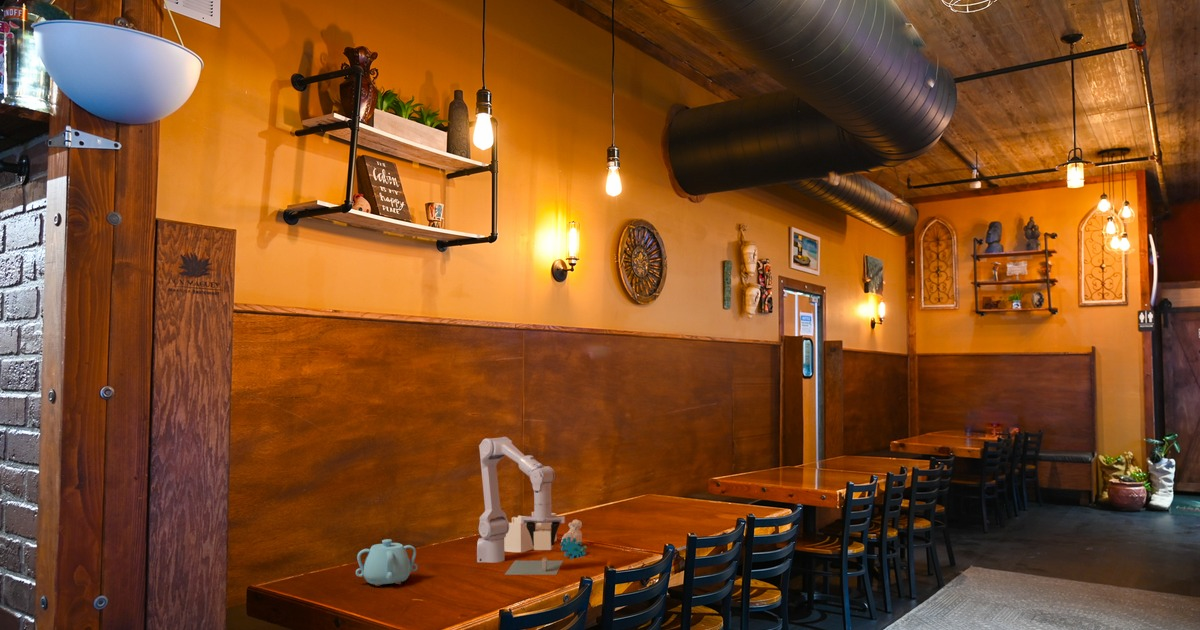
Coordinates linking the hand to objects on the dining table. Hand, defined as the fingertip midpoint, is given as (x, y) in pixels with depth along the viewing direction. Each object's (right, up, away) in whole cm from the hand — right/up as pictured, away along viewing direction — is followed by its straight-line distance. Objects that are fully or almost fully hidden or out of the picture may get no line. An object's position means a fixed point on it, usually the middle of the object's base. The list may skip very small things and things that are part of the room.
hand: (543, 545), depth 277 cm
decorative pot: (-50, -10, -8) cm, 52 cm away
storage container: (-9, -13, +46) cm, 49 cm away
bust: (+9, -13, +43) cm, 46 cm away
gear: (+10, -11, +21) cm, 25 cm away
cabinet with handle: (0, -1, 0) cm, 1 cm away
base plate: (-3, -10, +4) cm, 11 cm away
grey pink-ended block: (0, -8, -1) cm, 8 cm away
